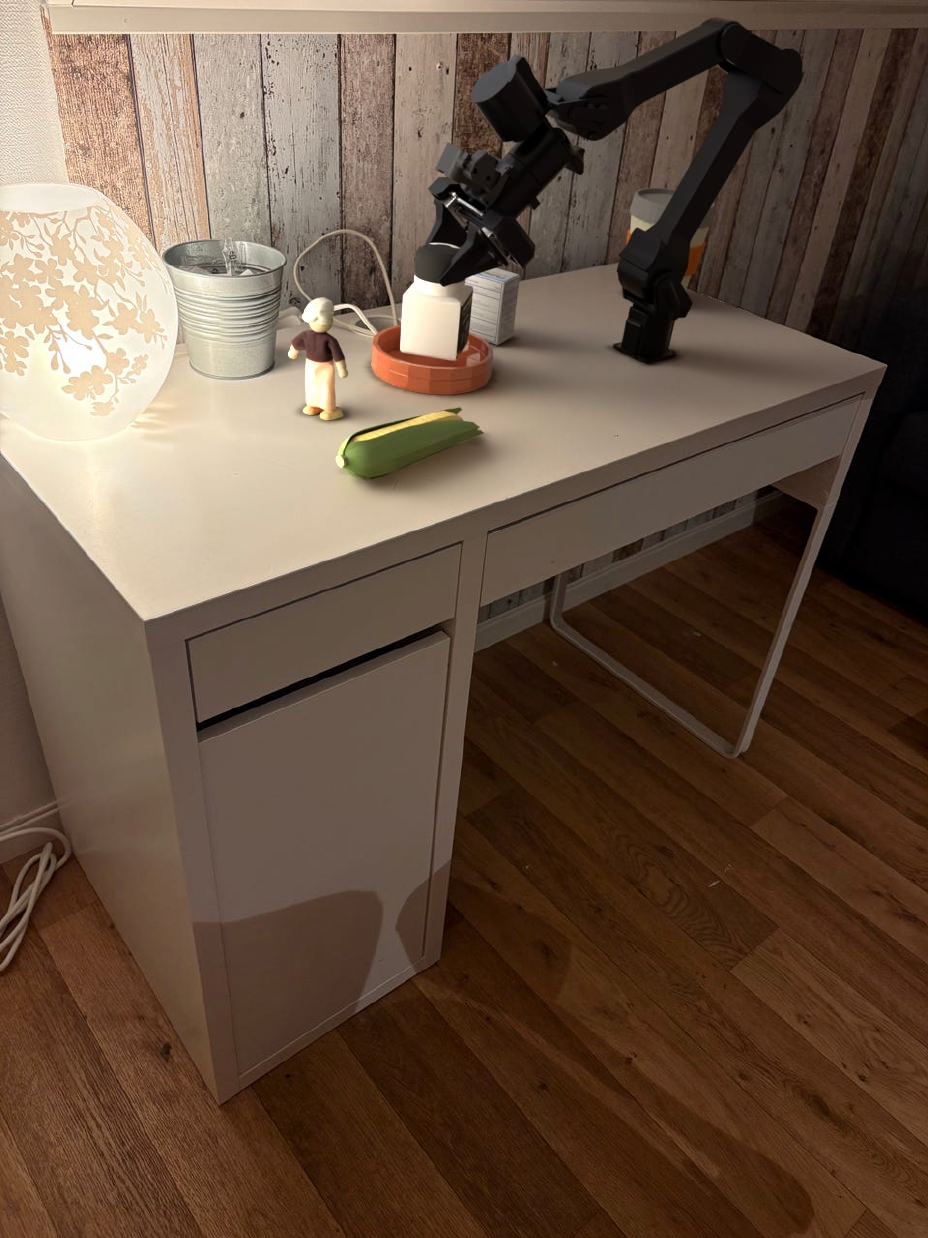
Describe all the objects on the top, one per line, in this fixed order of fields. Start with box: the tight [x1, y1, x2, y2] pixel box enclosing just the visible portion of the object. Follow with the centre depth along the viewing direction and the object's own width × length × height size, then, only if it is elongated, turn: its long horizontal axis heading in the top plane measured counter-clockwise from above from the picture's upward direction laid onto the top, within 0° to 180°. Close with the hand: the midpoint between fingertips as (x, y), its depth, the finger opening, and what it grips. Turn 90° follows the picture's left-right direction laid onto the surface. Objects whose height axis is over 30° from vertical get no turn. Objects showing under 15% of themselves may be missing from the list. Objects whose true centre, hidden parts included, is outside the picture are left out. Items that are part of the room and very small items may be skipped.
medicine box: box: [465, 267, 521, 346], centre depth 130 cm, size 8×4×9 cm, turn 58°
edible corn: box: [335, 406, 485, 480], centre depth 99 cm, size 5×20×5 cm, turn 135°
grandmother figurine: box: [287, 296, 349, 421], centre depth 104 cm, size 8×4×13 cm, turn 71°
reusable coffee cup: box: [626, 187, 716, 291], centre depth 149 cm, size 13×13×15 cm
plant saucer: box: [370, 324, 494, 395], centre depth 120 cm, size 15×15×3 cm
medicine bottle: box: [400, 243, 473, 361], centre depth 115 cm, size 7×7×12 cm
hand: (429, 274), depth 113 cm, fingers closed on medicine bottle, 6 cm apart
